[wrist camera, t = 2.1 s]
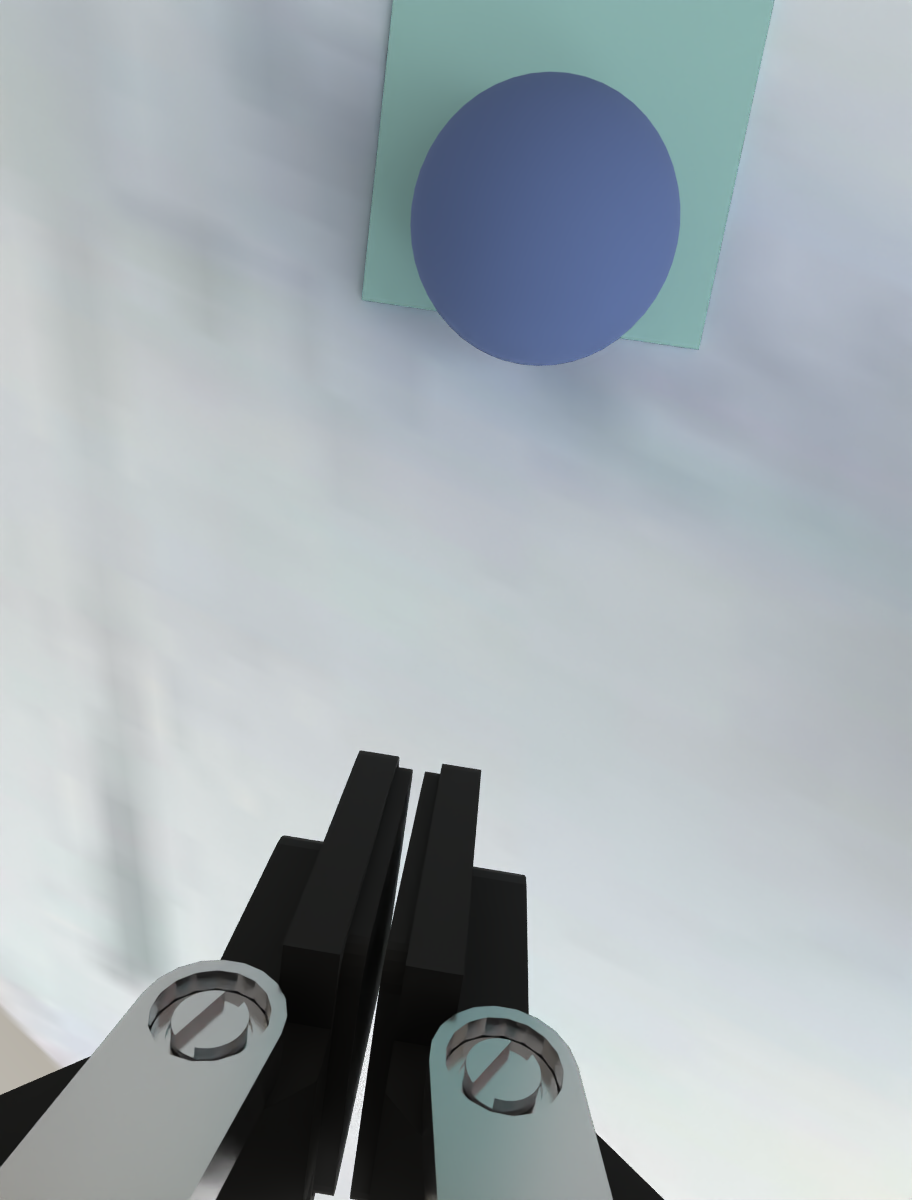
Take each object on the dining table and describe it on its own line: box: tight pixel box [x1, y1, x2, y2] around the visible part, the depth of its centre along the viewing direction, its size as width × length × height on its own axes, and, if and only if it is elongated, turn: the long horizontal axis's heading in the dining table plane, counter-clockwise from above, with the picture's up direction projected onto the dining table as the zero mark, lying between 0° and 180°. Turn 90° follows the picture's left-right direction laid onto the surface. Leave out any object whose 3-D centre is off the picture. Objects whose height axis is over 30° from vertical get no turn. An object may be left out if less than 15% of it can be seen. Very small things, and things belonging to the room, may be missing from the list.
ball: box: [410, 72, 680, 366], centre depth 19 cm, size 6×6×6 cm
